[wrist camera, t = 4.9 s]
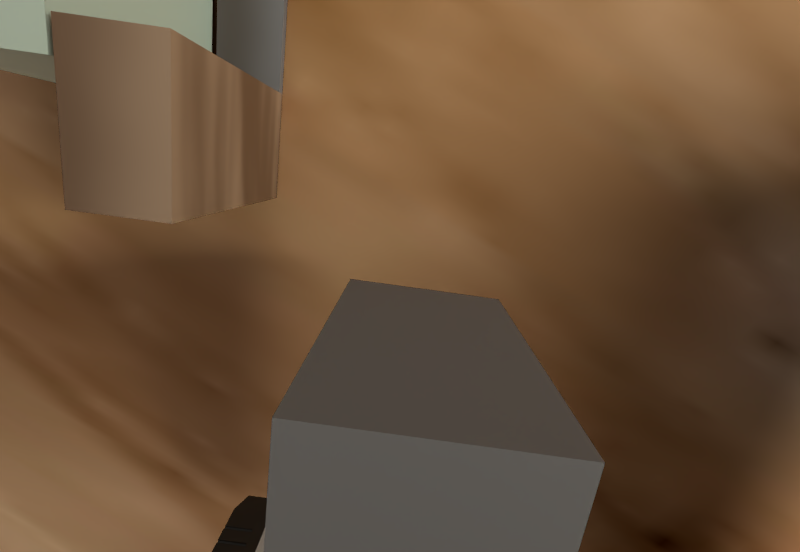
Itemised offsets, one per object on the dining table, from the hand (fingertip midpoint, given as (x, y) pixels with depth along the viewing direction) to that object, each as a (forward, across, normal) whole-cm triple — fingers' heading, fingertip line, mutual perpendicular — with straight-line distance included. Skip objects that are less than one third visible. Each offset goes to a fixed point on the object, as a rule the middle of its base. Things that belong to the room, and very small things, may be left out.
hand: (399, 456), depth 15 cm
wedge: (+1, 0, +1) cm, 1 cm away
